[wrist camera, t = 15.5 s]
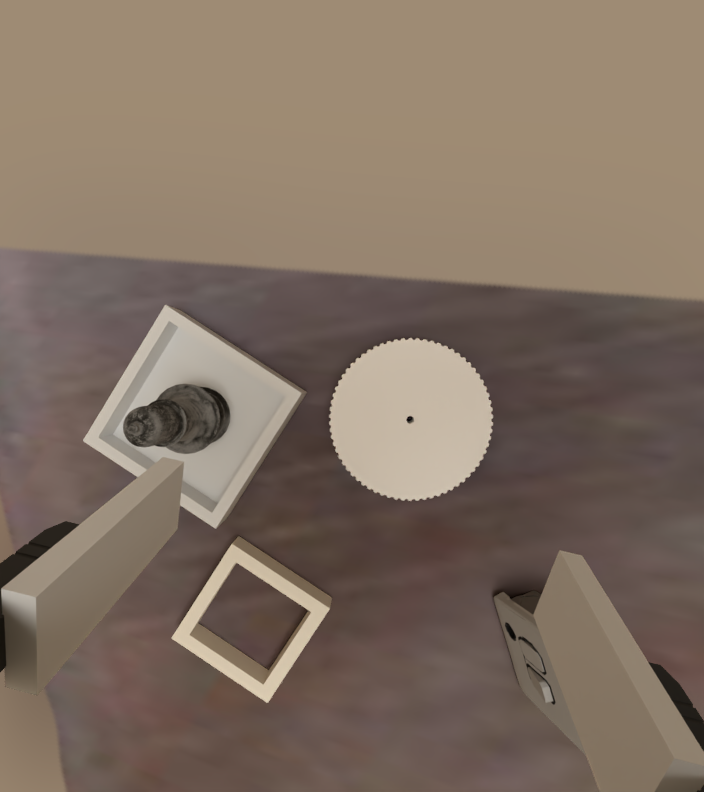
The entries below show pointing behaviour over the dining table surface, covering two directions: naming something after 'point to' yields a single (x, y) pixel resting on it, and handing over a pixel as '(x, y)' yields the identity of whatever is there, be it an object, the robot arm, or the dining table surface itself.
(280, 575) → the socket collar
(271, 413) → the parts tray
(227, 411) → the chess piece
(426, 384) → the cream gear
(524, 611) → the electrical switch
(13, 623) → the robot arm
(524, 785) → the dining table surface
